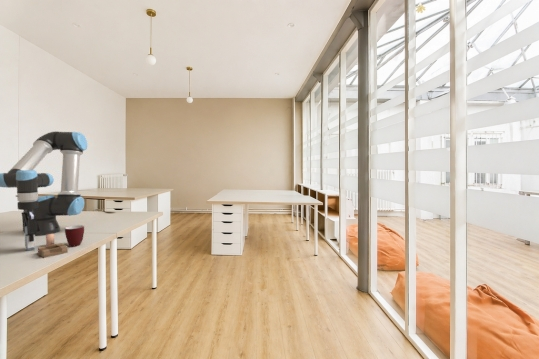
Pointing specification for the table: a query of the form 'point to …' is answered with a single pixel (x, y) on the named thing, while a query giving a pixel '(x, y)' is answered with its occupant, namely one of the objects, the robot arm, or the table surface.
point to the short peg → (49, 239)
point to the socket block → (52, 250)
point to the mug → (74, 235)
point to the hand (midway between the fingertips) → (30, 246)
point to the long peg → (26, 240)
